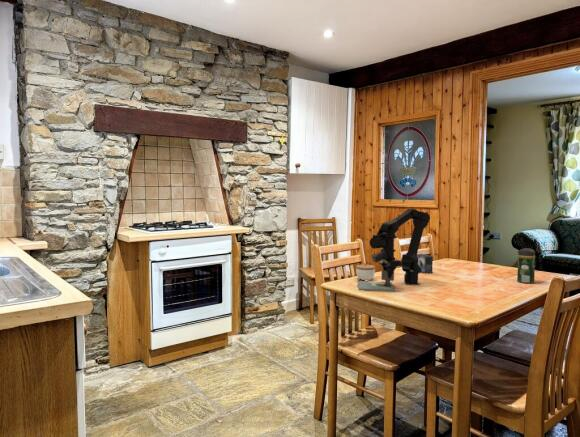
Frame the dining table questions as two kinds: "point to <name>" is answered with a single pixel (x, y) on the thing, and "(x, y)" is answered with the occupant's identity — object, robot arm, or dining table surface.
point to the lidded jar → (365, 271)
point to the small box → (425, 263)
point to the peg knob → (385, 278)
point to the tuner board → (375, 286)
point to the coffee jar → (526, 265)
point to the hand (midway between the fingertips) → (387, 277)
